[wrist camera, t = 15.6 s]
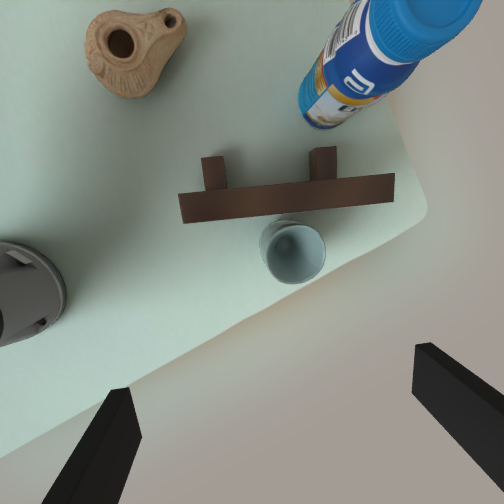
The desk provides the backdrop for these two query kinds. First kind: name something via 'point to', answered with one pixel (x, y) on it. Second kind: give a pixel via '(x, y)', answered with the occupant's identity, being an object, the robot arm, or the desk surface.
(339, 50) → the beverage bottle
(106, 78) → the pottery oil lamp
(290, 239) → the cup
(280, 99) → the desk surface
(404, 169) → the desk surface
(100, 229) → the desk surface
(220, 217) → the partition wall
